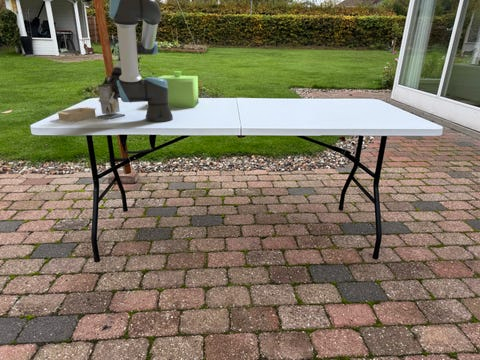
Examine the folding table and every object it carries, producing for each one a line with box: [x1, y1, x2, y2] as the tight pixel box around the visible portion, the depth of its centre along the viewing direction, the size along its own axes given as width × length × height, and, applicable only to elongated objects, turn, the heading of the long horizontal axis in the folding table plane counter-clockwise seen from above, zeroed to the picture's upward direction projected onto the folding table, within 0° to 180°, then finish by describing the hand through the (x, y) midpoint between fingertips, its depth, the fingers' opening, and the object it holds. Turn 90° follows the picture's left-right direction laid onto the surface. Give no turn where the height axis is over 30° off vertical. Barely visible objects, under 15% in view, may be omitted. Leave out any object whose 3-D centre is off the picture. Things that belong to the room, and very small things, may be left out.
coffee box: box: [97, 84, 121, 115], centre depth 201 cm, size 9×6×16 cm
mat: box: [96, 112, 126, 120], centre depth 204 cm, size 10×12×1 cm
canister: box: [157, 70, 200, 109], centre depth 242 cm, size 25×21×23 cm
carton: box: [55, 106, 97, 123], centre depth 199 cm, size 13×20×4 cm, turn 152°
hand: (105, 102), depth 198 cm, fingers closed on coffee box, 7 cm apart
